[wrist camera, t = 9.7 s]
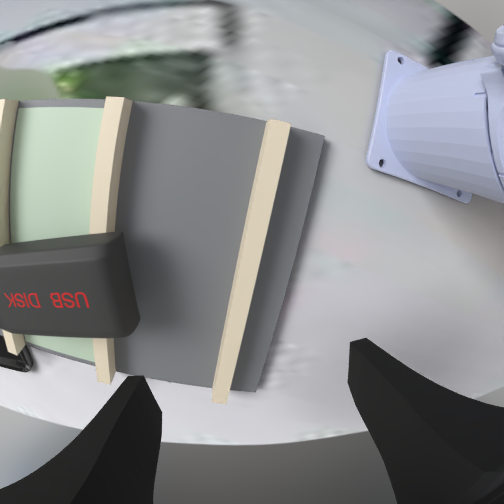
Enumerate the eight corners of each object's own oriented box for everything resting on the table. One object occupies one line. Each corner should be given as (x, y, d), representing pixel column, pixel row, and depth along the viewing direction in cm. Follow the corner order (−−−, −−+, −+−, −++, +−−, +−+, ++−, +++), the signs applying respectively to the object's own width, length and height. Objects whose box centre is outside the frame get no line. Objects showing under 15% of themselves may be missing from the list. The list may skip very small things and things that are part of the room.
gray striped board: (320, 136, 16) (334, 135, 14) (254, 385, 22) (257, 406, 20) (-6, 103, 13) (-26, 103, 11) (2, 329, 18) (-11, 343, 16)
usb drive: (141, 318, 16) (130, 346, 14) (-2, 316, 16) (-22, 336, 13) (124, 230, 15) (105, 248, 12) (-24, 247, 14) (-48, 262, 11)
